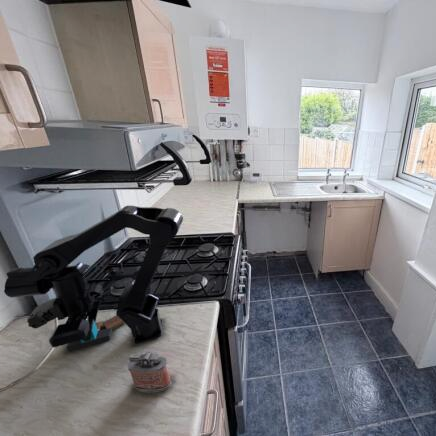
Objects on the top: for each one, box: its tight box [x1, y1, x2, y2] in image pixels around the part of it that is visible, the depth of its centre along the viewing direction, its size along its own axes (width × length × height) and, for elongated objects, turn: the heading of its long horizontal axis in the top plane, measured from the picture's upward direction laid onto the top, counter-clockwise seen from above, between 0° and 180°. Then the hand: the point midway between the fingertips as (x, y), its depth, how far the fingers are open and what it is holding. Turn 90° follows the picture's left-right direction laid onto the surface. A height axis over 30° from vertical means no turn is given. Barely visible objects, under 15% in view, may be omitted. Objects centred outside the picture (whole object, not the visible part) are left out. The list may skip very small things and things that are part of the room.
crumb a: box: [95, 321, 103, 331], centre depth 67 cm, size 4×4×1 cm
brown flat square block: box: [102, 314, 125, 331], centre depth 69 cm, size 4×4×1 cm
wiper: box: [66, 321, 113, 352], centre depth 63 cm, size 9×3×6 cm, turn 116°
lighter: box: [126, 351, 172, 393], centre depth 52 cm, size 8×3×10 cm, turn 92°
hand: (89, 335), depth 63 cm, fingers closed on wiper, 3 cm apart
